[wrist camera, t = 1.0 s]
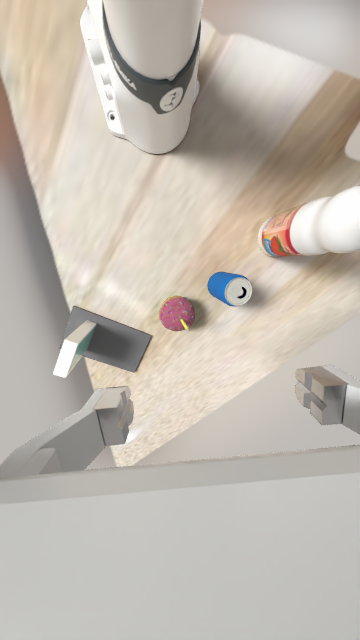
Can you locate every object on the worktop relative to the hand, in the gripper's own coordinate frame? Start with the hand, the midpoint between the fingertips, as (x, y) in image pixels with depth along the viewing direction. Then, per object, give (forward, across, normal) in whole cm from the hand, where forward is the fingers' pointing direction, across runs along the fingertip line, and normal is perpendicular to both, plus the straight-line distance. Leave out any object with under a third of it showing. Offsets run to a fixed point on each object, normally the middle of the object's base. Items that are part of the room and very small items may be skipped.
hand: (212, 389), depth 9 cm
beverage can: (+41, -9, -2) cm, 42 cm away
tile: (+37, +26, +6) cm, 45 cm away
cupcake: (+40, +3, +3) cm, 40 cm away
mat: (+38, +22, +9) cm, 45 cm away
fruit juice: (+42, -23, -12) cm, 49 cm away
